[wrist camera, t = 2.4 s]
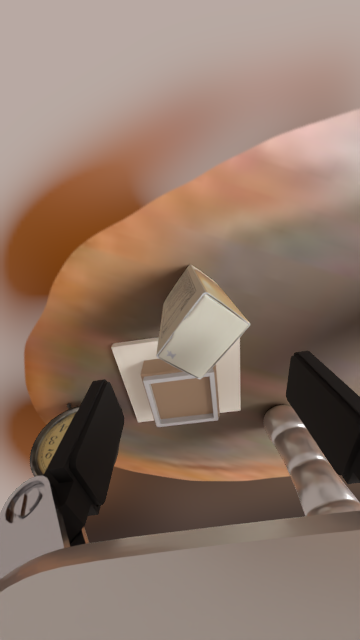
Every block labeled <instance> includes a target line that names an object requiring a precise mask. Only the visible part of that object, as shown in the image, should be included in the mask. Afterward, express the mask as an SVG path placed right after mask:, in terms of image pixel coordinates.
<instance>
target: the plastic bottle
mask: <svg viewBox="0 0 360 640" xmlns="http://www.w3.org/2000/svg"><path fill="white" fill-rule="evenodd" d="M263 422H264V427H265V431H266V433H267V435H268V436H269V438H270V440H271V441H272V443H273V444H274V445H275V447H276V449H277V450H278V452H279V454H280V456H281V458H282V459H283V461H284V463H285V465H286V467H287V469H288V471H289V474H290V475H291V478H292V481H293V483H294V486H295V488H296V490H297V493H298V496H299V499H300V502H301V504H302V507H303V510H304V513H305V516H314V515H323V514H332V513H341V512H351V511H360V502H359V501H358V500H357V499H356V497H355V496H354V495H353V494H352V492H351V491H350V490H349V489H348V488H347V486H346V485H345V484H344V483H343V481H342V480H341V479H340V478H339V477H338V475H337V474H336V472H335V471H334V469H333V468H332V467H331V465H330V464H329V463H328V461H327V460H326V458H325V457H324V455H323V454H322V452H321V451H320V449H319V447H318V445H317V444H316V442H315V441H314V439H313V438H312V436H311V435H310V433H309V432H308V430H307V429H306V427H305V426H304V424H303V423H302V421H301V420H300V418H299V417H298V415H297V414H296V412H295V411H294V409H293V408H292V407H290V406H288V405H279V406H275V407H273V408H271V409H270V410H268V411H267V412H266V414H265V416H264V421H263Z"/></svg>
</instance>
